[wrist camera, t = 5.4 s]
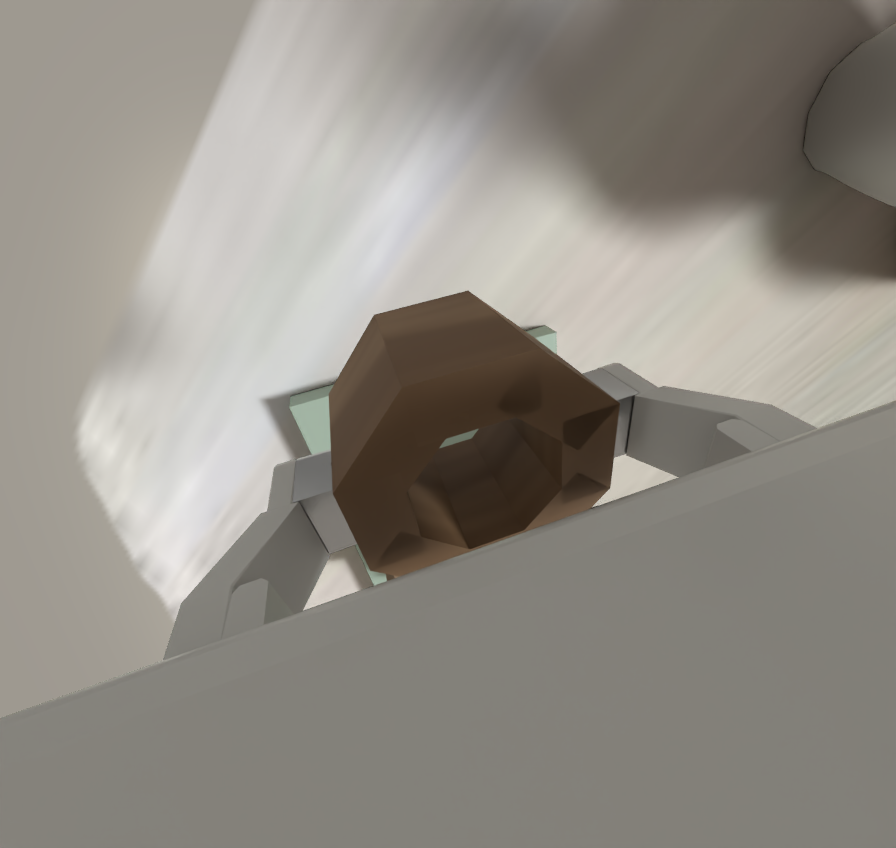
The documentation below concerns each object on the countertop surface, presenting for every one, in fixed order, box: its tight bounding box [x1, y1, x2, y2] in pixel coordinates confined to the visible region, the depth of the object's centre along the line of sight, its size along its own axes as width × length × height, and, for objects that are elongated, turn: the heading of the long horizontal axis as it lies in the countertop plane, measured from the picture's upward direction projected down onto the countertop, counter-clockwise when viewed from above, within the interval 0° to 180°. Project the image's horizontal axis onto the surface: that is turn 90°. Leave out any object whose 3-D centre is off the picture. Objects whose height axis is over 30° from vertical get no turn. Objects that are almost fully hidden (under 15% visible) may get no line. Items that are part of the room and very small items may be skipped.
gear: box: [329, 291, 620, 576], centre depth 10 cm, size 6×6×4 cm
